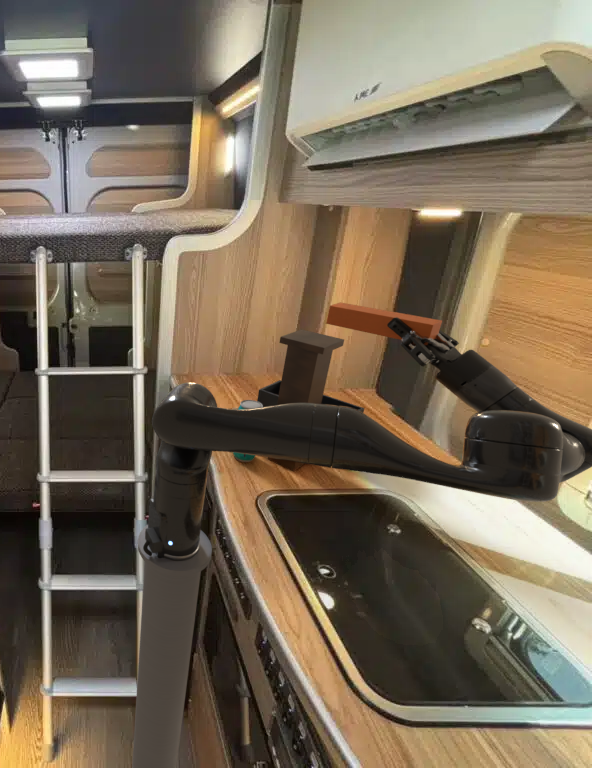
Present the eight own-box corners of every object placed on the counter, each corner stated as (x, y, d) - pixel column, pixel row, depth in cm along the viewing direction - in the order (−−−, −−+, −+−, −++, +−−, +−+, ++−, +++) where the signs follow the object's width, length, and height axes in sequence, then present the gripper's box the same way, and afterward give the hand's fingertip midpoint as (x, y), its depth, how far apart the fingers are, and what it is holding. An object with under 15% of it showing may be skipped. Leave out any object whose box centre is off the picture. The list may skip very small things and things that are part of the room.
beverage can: (232, 462, 116) (239, 408, 110) (231, 450, 121) (238, 398, 115) (256, 465, 115) (265, 410, 109) (254, 452, 120) (262, 400, 114)
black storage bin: (353, 451, 120) (364, 408, 115) (333, 465, 114) (345, 420, 109) (272, 419, 137) (279, 380, 132) (252, 430, 131) (258, 389, 126)
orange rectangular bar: (436, 340, 90) (442, 320, 88) (427, 345, 87) (433, 324, 85) (336, 320, 103) (340, 302, 102) (325, 323, 101) (329, 305, 99)
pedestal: (316, 462, 116) (344, 339, 103) (297, 475, 111) (324, 347, 98) (279, 446, 123) (301, 329, 110) (259, 457, 118) (280, 336, 105)
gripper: (505, 358, 86) (426, 298, 93) (480, 377, 78) (396, 309, 85) (469, 384, 91) (397, 325, 98) (442, 404, 83) (366, 339, 91)
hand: (397, 318), depth 92 cm, fingers closed on orange rectangular bar, 4 cm apart
